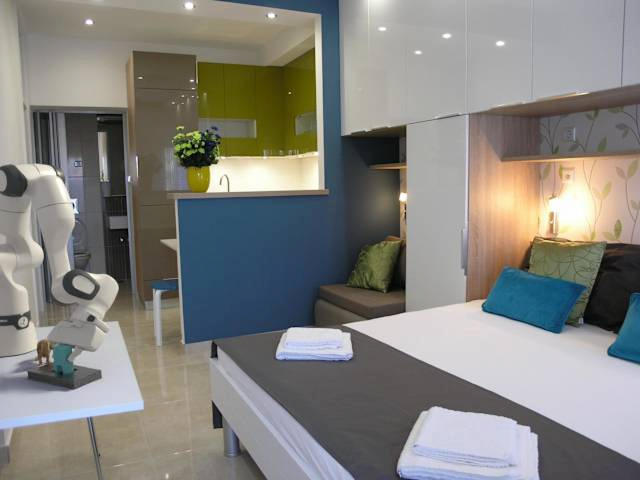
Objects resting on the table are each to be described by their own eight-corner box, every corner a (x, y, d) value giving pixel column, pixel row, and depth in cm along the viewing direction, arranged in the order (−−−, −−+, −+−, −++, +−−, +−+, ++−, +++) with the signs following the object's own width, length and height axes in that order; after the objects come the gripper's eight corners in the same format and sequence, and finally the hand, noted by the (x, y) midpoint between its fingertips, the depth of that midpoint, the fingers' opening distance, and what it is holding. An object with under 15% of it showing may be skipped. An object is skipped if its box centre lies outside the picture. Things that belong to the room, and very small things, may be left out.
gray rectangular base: (28, 378, 174) (27, 370, 174) (56, 368, 183) (55, 361, 183) (74, 389, 165) (73, 381, 165) (101, 377, 174) (101, 370, 173)
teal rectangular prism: (54, 373, 174) (52, 347, 173) (63, 370, 176) (60, 344, 175) (65, 376, 171) (63, 349, 170) (74, 372, 174) (71, 346, 173)
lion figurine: (58, 365, 187) (56, 338, 186) (41, 368, 184) (38, 342, 182) (46, 354, 198) (44, 329, 197) (30, 358, 195) (28, 332, 194)
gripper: (57, 312, 183) (32, 350, 175) (101, 318, 173) (77, 359, 166) (69, 322, 187) (46, 360, 180) (113, 329, 178) (90, 368, 170)
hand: (61, 359), depth 173 cm, fingers closed on teal rectangular prism, 5 cm apart
